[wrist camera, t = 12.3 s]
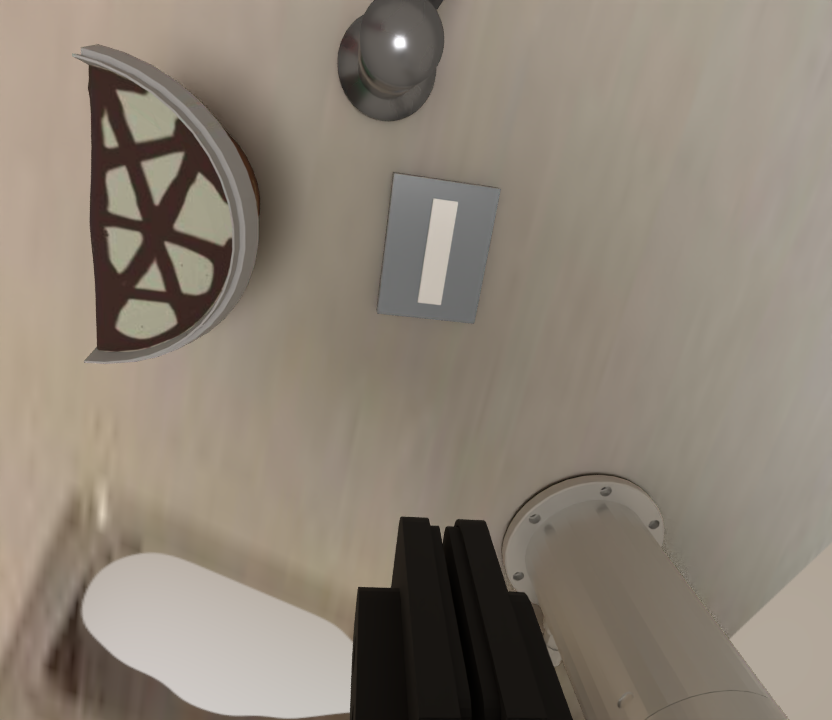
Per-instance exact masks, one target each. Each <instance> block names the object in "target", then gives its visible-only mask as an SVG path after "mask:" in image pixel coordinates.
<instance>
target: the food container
mask: <svg viewBox="0 0 832 720" xmlns="http://www.w3.org/2000/svg"><path fill="white" fill-rule="evenodd" d="M72 56H73V57H75V58H77V59H79V60H81V61H83V62H84V63H86V64H88V65H89V83H88V91H89V96H90V106H91V144H92V150H91V192H90V232H91V244H92V253H93V263H94V276H95V293H96V325H97V347H96V348H95V350H94V351H93V352H92V353H91V354H90V355H89V356H88V357H87V358H86V359H85V360H84V363H101V364H109V363H125V362H137V361H141V360H146V359H151V358H155V357H159V356H161V355H164V354H166V353H169V352H172V351H174V350H177V349H179V348H181V347H183V346H185V345H187V344H189V343H191V342H193V341H194V340H196V339H198V338H199V337H201V336H203V335H204V334H206V333H208V332H209V331H211V330H212V329H213V328H214V327H215V326H216V325H218V324H219V323H220V322H221V321H222V320H223V319H225V317H226V316H227V315H228V314H229V313H230V311H231V310H232V309H233V308H234V307H235V305H236V304H237V303H238V301H239V299H240V298H241V296H242V294H243V292H244V291H245V289H246V287H247V285H248V283H249V280H250V277H251V274H252V271H253V269H254V266H255V261H256V255H257V249H258V243H259V214H260V196H259V189H258V184H257V181H256V178H255V174H254V171H253V169H252V167H251V165H250V163H249V161H248V159H247V157H246V155H245V154H244V152H243V151H242V149H241V148H240V147H239V145H238V144H237V143H236V141H235V140H234V139H233V138H232V137H231V136H230V135H229V134H228V133H227V132H226V131H225V130H224V129H223V127H222V126H221V124H220V123H219V122H218V121H217V120H216V118H215V117H214V116H213V115H212V114H211V113H210V112H209V111H208V109H207V108H206V107H205V106H204V105H203V104H202V103H201V102H200V101H199V100H198V99H197V98H196V97H195V96H194V95H192V94H191V93H190V92H189V91H188V90H187V89H185V88H184V87H183V86H182V85H181V84H180V83H178V82H177V81H176V80H174V79H173V78H171V77H170V76H168V75H166V74H165V73H163V72H162V71H160V70H159V69H157V68H156V67H154V66H153V65H151V64H148V63H146V62H144V61H142V60H140V59H138V58H136V57H133V56H131V55H129V54H127V53H125V52H122V51H119V50H115V49H112V48H109V47H105V46H102V45H99V44H98V45H92V46H86V47H81V55H79V54H72Z"/></svg>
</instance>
